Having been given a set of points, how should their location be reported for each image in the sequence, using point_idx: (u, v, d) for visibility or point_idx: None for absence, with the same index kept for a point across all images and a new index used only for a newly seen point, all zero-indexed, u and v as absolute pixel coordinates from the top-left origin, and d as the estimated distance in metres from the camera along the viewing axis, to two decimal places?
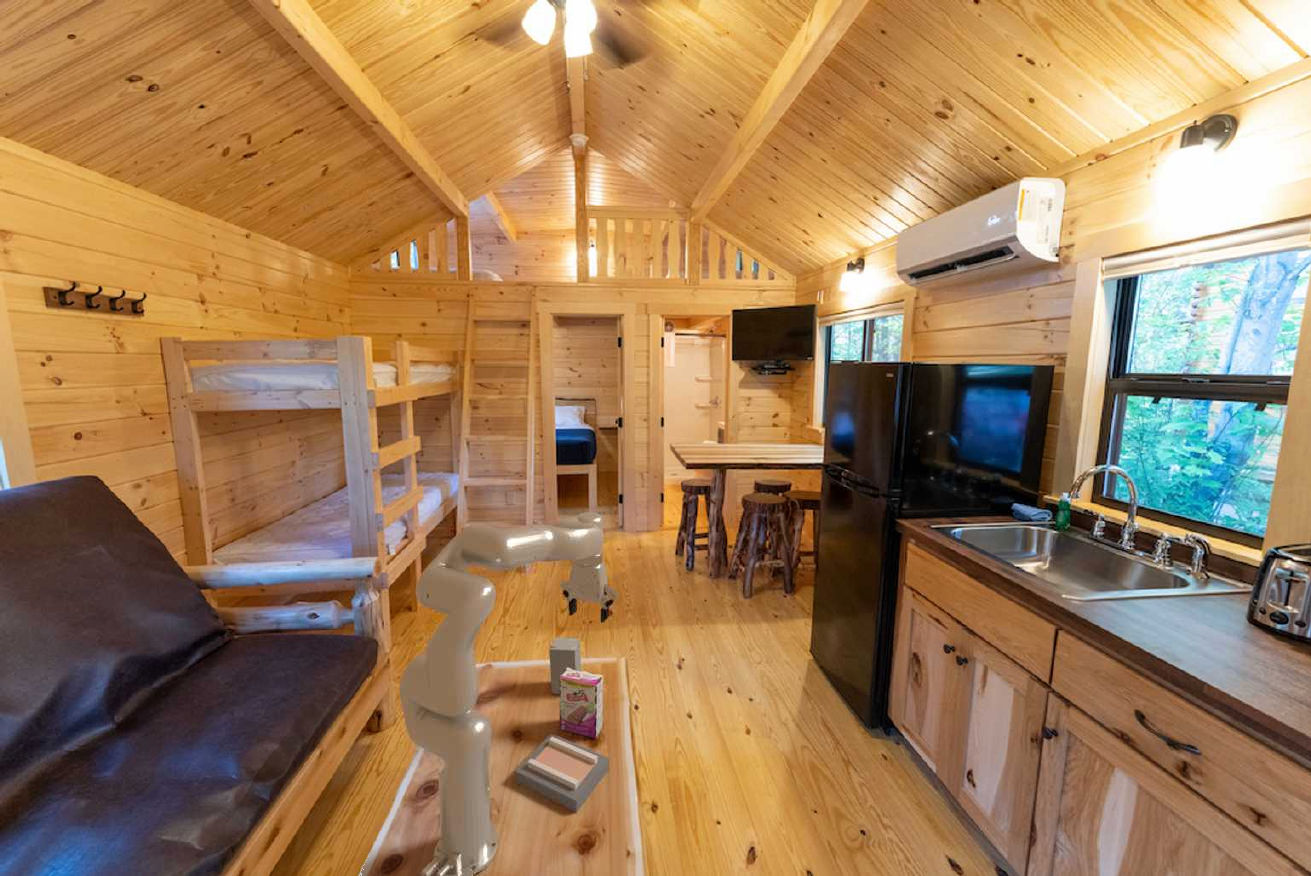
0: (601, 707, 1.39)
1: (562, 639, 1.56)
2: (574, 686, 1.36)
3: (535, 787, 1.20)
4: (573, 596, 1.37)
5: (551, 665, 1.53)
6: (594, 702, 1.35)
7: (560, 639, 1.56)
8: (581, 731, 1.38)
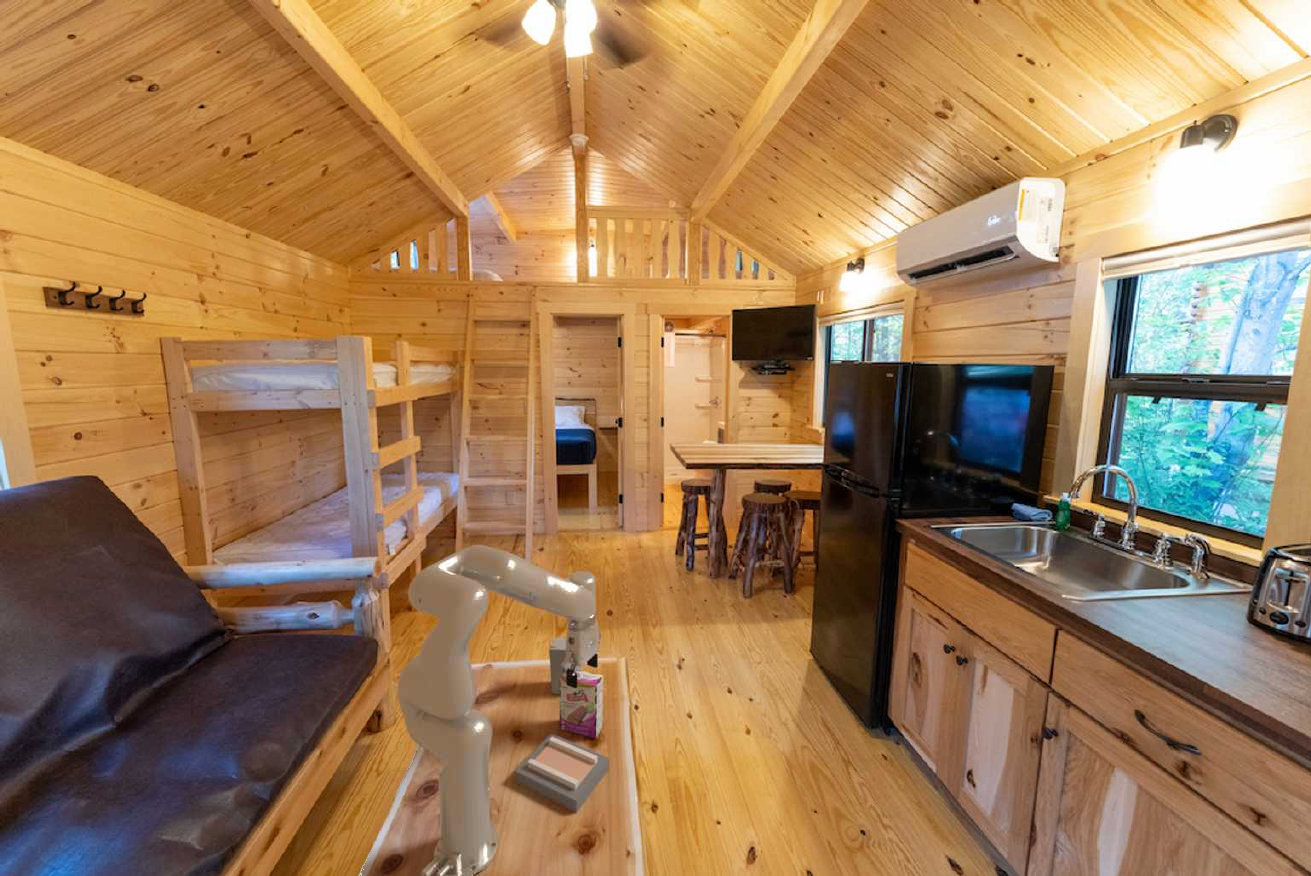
0: (601, 707, 1.39)
1: (562, 639, 1.56)
2: None
3: (535, 787, 1.20)
4: (584, 662, 1.33)
5: (551, 665, 1.53)
6: (594, 702, 1.35)
7: (560, 639, 1.56)
8: (581, 731, 1.38)
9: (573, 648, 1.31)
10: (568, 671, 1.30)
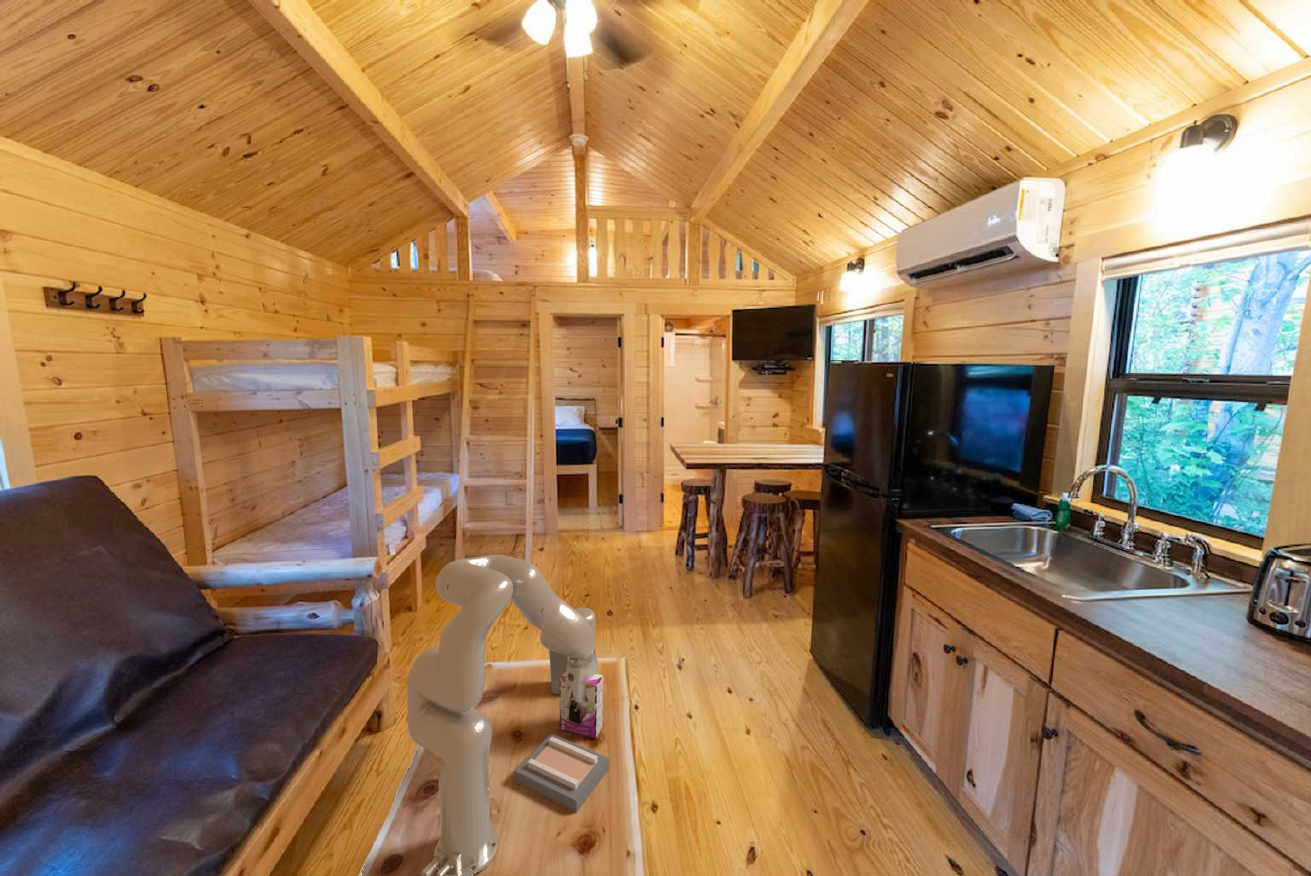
0: (601, 707, 1.39)
1: None
2: None
3: (535, 787, 1.20)
4: (583, 699, 1.34)
5: (551, 665, 1.53)
6: (594, 701, 1.35)
7: None
8: (581, 731, 1.38)
9: (572, 685, 1.33)
10: (571, 707, 1.33)
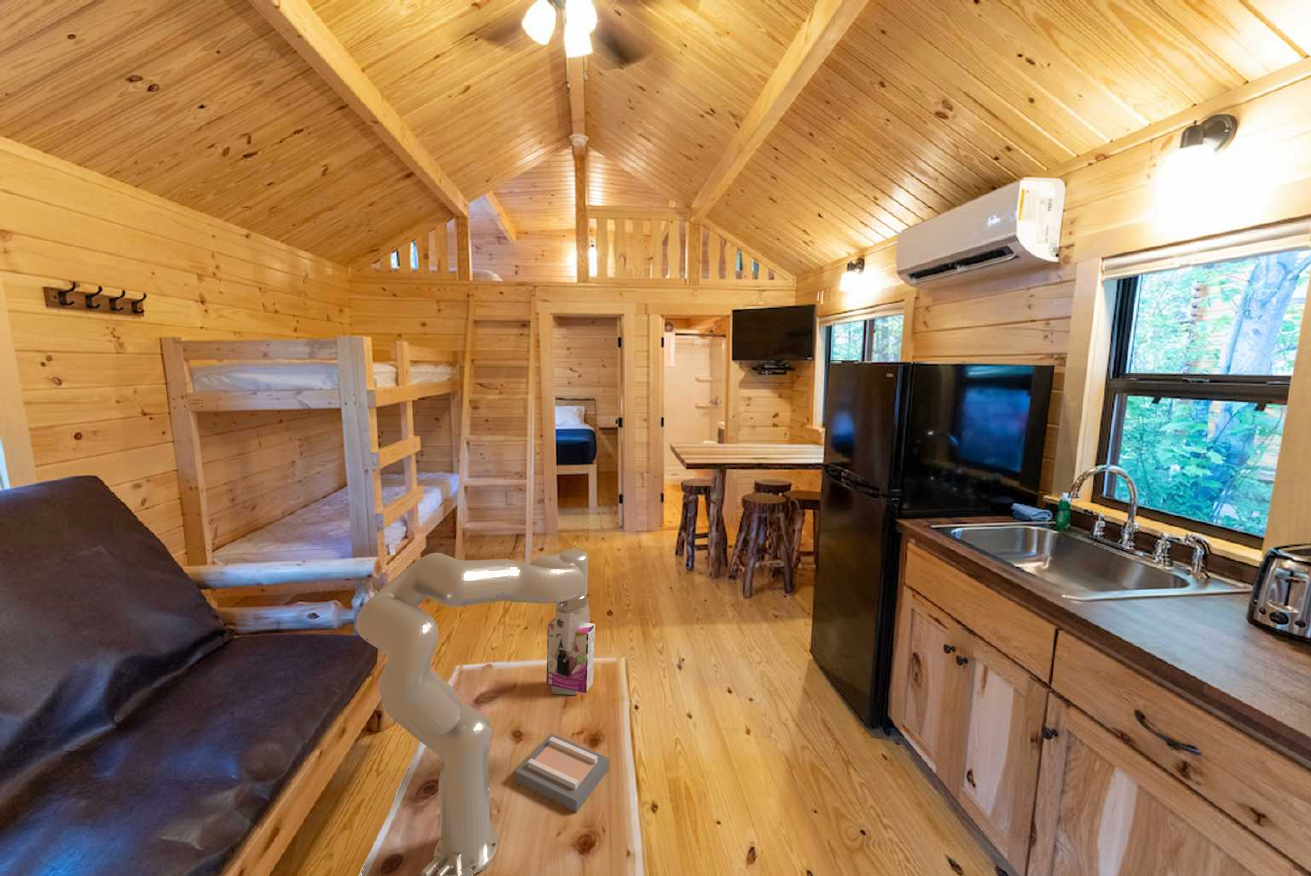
0: (592, 660, 1.27)
1: None
2: None
3: (535, 787, 1.20)
4: (573, 648, 1.23)
5: None
6: (585, 651, 1.23)
7: None
8: (570, 685, 1.26)
9: (562, 631, 1.21)
10: (560, 656, 1.21)
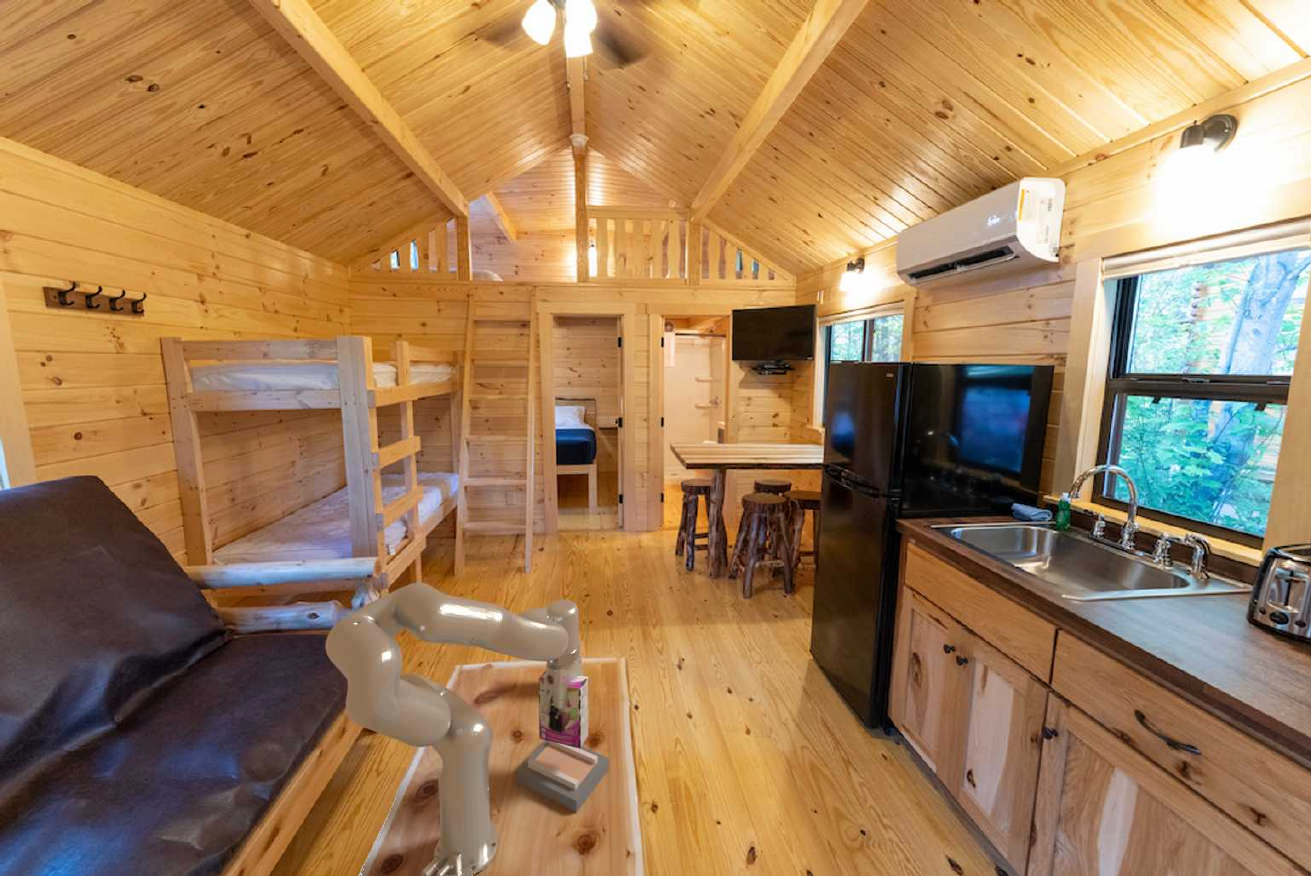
0: (586, 713, 1.22)
1: None
2: None
3: (535, 787, 1.20)
4: (564, 704, 1.17)
5: None
6: (577, 707, 1.18)
7: None
8: (564, 740, 1.21)
9: (552, 688, 1.16)
10: (551, 714, 1.16)
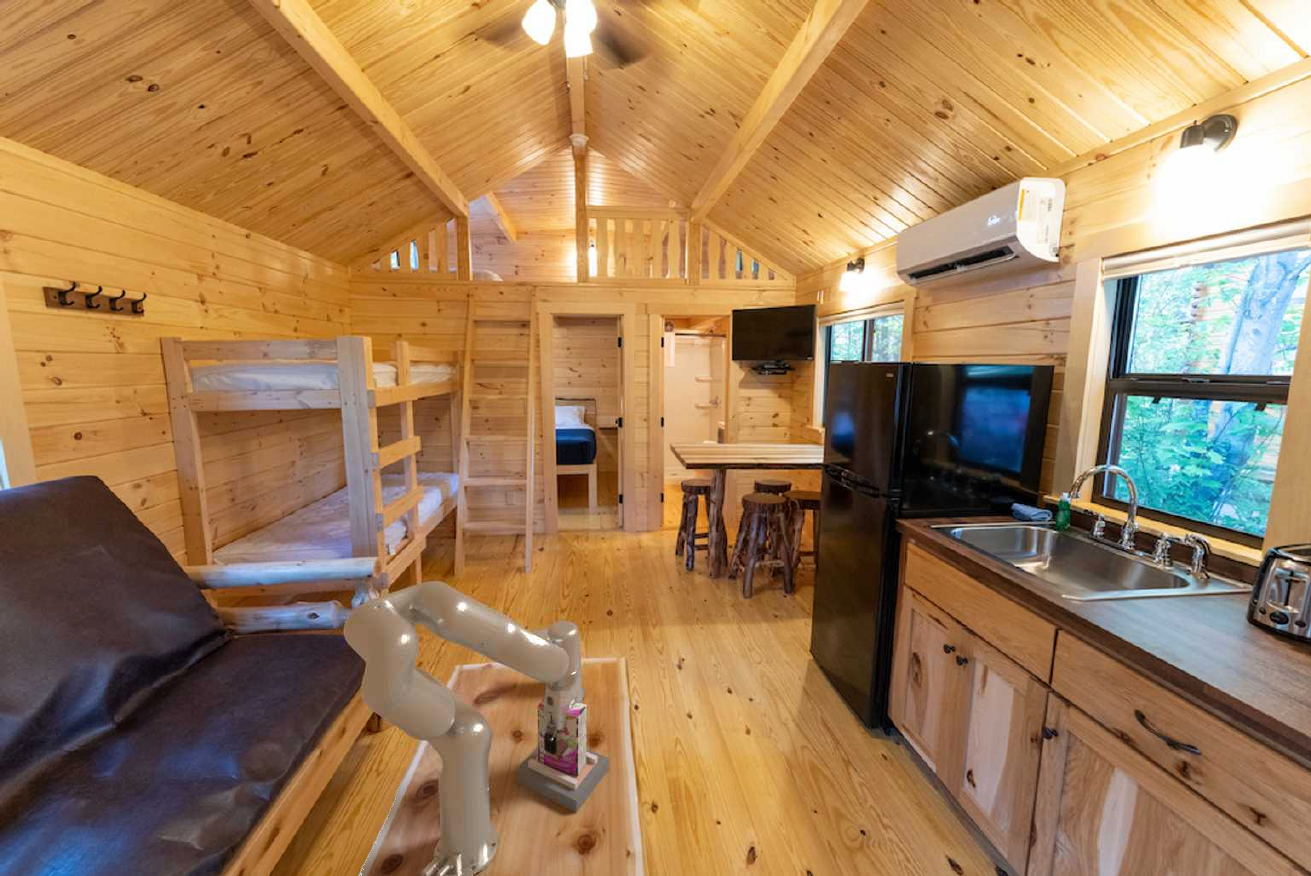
0: (584, 741, 1.22)
1: None
2: None
3: (535, 787, 1.20)
4: (564, 725, 1.18)
5: None
6: (575, 735, 1.19)
7: None
8: (561, 767, 1.21)
9: (552, 709, 1.17)
10: (546, 736, 1.15)
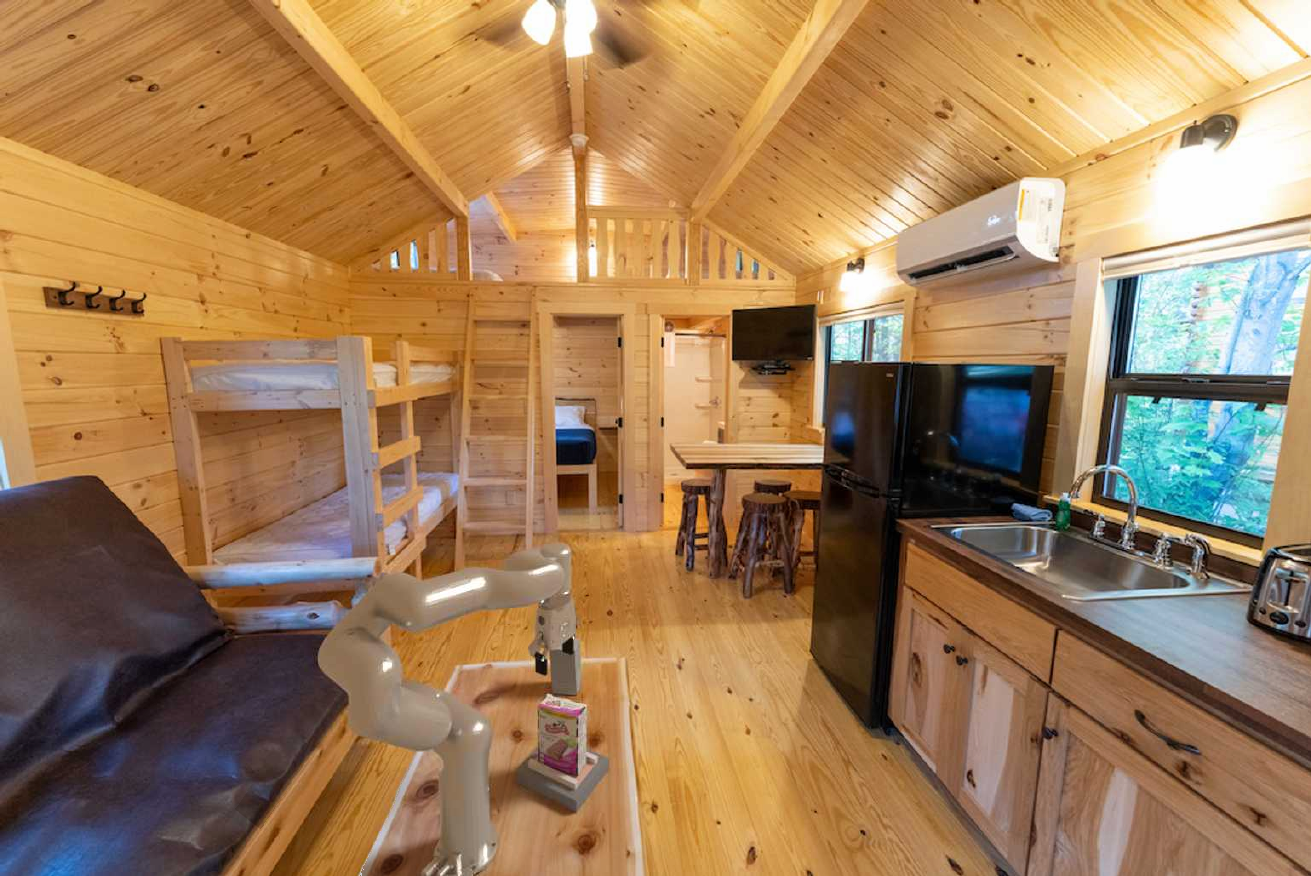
0: (584, 741, 1.22)
1: None
2: (553, 716, 1.20)
3: (535, 787, 1.20)
4: (555, 646, 1.16)
5: (551, 665, 1.53)
6: (575, 735, 1.19)
7: None
8: (561, 767, 1.21)
9: (543, 629, 1.15)
10: (536, 655, 1.14)
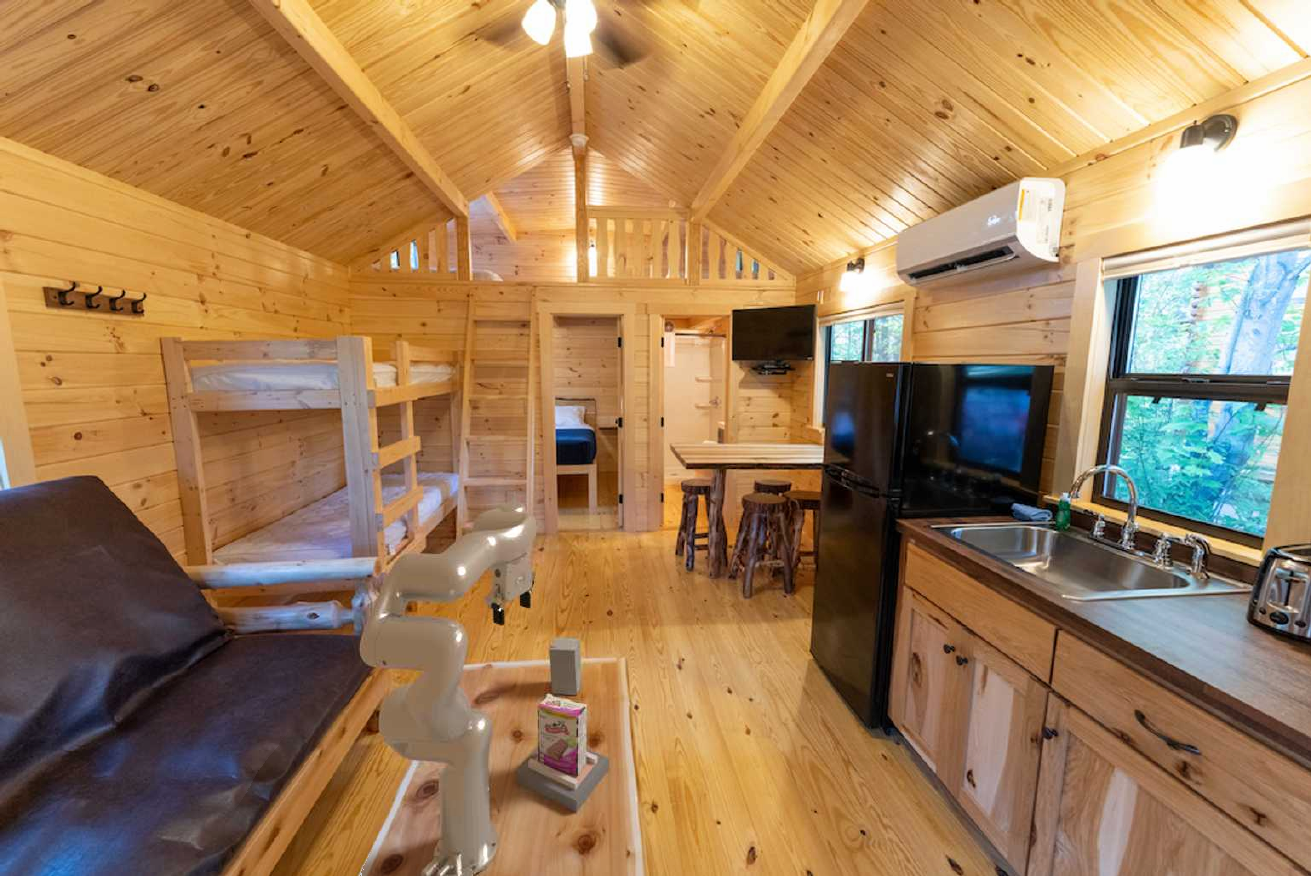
0: (584, 741, 1.22)
1: (562, 639, 1.56)
2: (553, 716, 1.20)
3: (535, 787, 1.20)
4: (511, 598, 1.25)
5: (551, 665, 1.53)
6: (575, 735, 1.19)
7: (560, 639, 1.56)
8: (561, 767, 1.21)
9: (499, 581, 1.23)
10: (493, 605, 1.22)
